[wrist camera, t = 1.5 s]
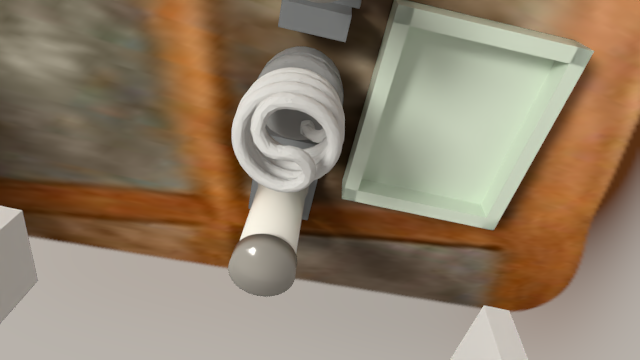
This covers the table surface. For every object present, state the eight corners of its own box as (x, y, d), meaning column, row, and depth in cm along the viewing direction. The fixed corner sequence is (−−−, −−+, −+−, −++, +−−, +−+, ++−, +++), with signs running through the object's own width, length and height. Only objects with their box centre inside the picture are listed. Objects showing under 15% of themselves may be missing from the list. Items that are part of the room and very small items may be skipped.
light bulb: (360, 89, 30) (365, 180, 19) (292, 123, 31) (264, 222, 21) (322, 15, 27) (304, 74, 17) (250, 55, 29) (195, 132, 19)
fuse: (257, 194, 34) (225, 289, 25) (263, 153, 32) (231, 241, 23) (304, 204, 34) (288, 301, 26) (314, 164, 32) (300, 255, 23)
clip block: (248, 216, 36) (239, 243, 33) (307, -186, 22) (300, -202, 19) (305, 228, 36) (301, 255, 34) (400, -162, 22) (407, -174, 19)
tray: (342, 180, 34) (341, 198, 32) (394, -3, 26) (398, 4, 24) (484, 211, 34) (493, 230, 32) (575, 40, 27) (594, 51, 25)
